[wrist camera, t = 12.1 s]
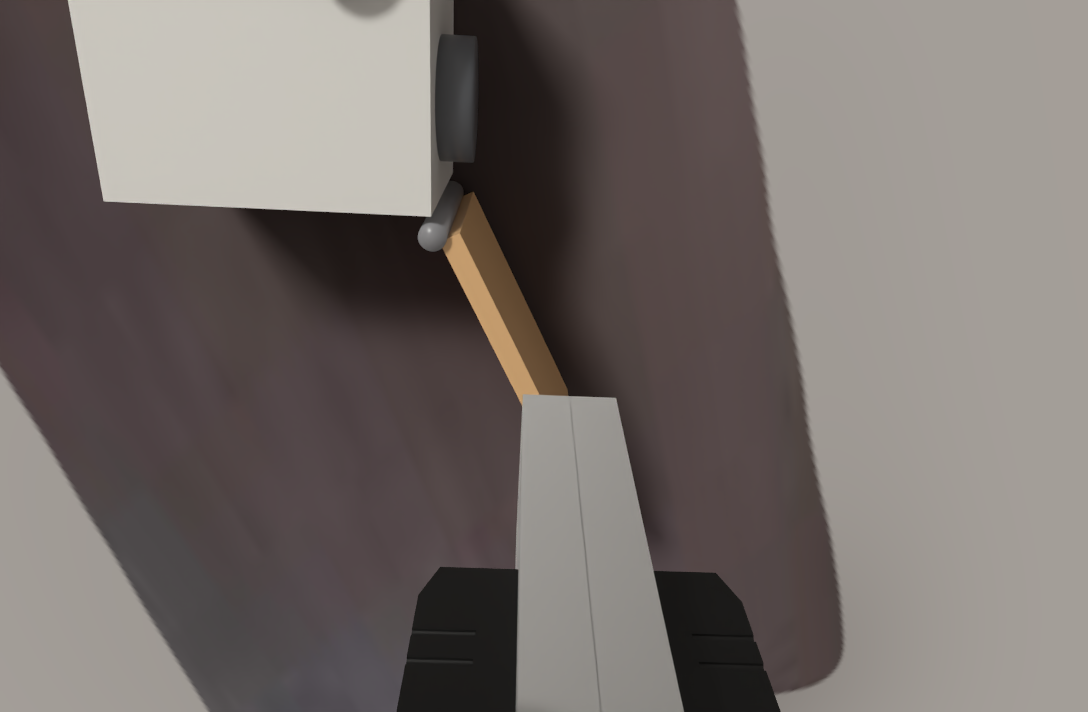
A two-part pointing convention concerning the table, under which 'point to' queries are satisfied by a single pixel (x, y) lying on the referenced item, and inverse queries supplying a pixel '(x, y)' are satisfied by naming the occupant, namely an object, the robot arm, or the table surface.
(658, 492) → the table surface
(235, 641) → the table surface
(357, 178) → the housing
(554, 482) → the robot arm
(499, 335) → the door
